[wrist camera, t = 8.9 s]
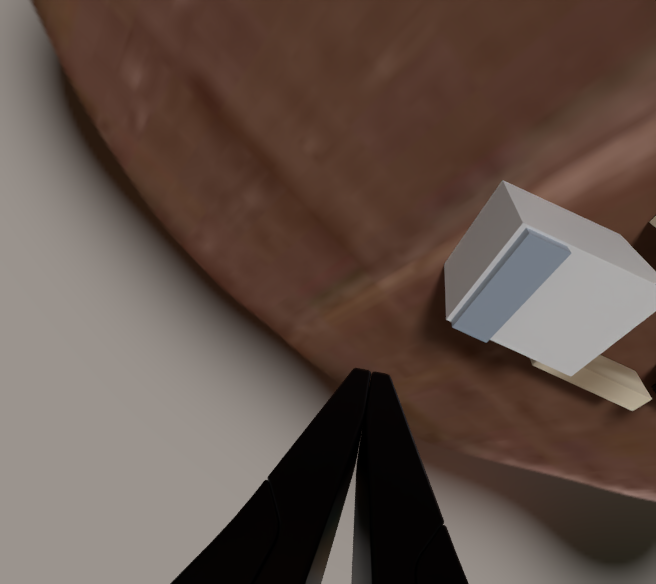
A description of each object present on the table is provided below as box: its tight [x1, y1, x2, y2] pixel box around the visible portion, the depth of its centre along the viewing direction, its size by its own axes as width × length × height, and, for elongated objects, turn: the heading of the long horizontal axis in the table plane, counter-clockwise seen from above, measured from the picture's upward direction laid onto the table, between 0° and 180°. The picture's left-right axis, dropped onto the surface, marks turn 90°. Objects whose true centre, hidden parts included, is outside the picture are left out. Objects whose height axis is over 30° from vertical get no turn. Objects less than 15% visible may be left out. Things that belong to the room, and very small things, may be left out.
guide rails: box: [530, 216, 656, 411], centre depth 17 cm, size 6×9×2 cm, turn 159°
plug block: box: [444, 180, 656, 376], centre depth 16 cm, size 6×5×6 cm
